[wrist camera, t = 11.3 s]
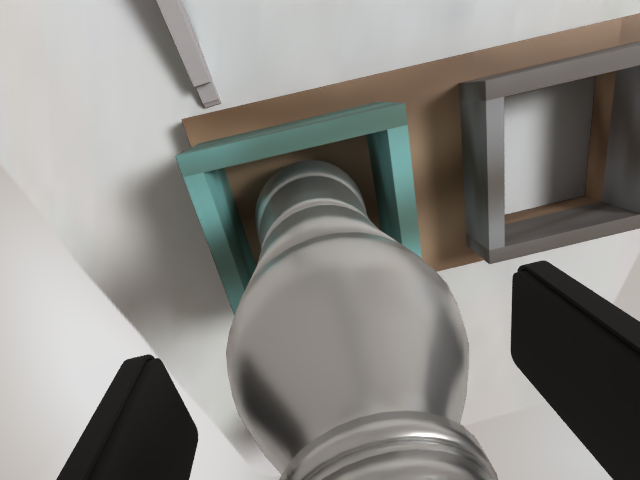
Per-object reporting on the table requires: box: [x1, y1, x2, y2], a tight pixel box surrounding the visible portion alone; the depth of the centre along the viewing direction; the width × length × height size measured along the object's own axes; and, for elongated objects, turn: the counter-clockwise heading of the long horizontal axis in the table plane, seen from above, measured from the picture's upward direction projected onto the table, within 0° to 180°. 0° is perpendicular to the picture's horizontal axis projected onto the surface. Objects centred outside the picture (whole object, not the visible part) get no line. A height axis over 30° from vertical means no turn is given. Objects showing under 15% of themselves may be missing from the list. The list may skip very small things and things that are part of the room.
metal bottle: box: [226, 160, 498, 480], centre depth 14 cm, size 6×7×20 cm
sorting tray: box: [175, 13, 640, 315], centre depth 22 cm, size 14×28×6 cm, turn 102°
